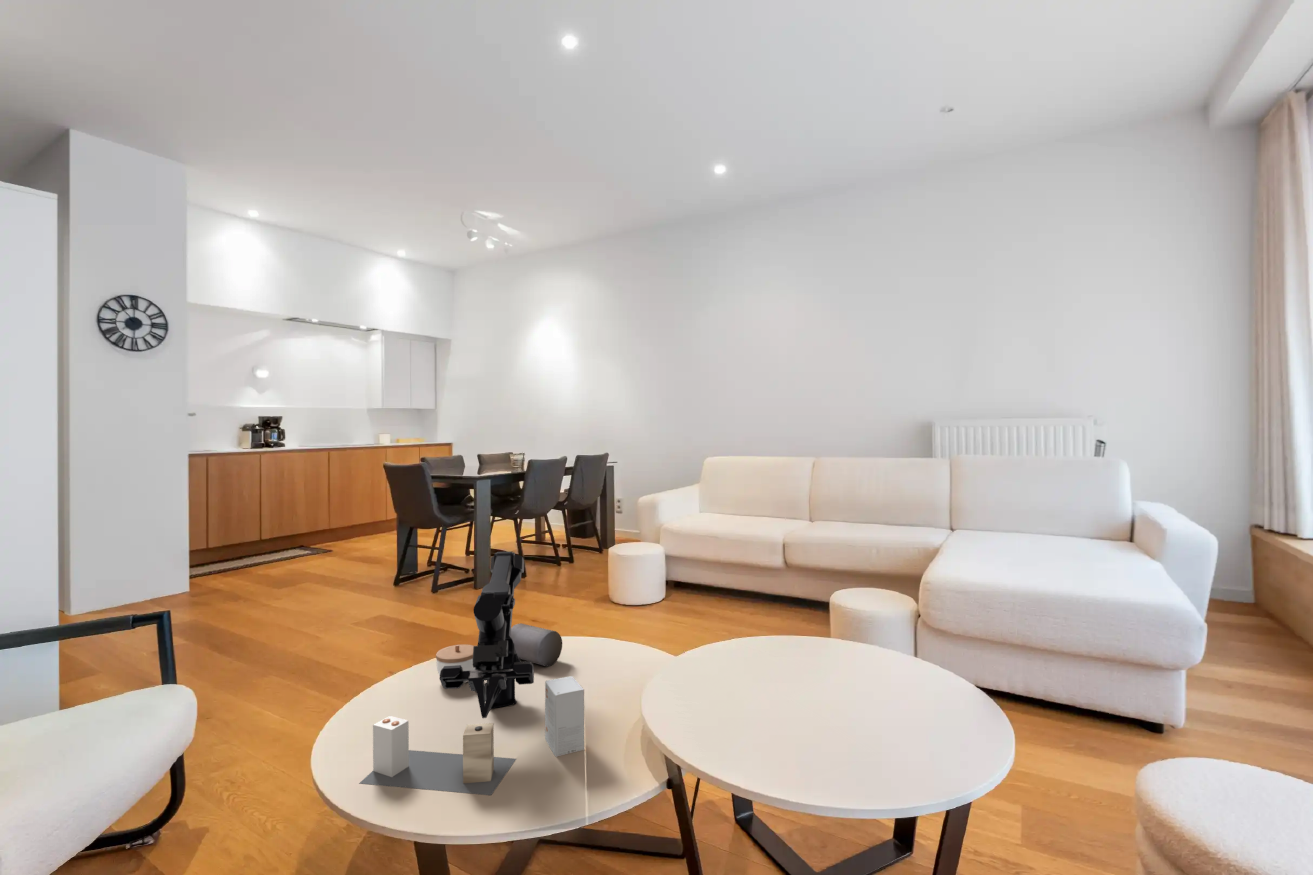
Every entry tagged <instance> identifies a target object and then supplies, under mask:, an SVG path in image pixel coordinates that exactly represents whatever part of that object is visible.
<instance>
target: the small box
mask: <svg viewBox="0 0 1313 875" xmlns="http://www.w3.org/2000/svg"><path fill="white" fill-rule="evenodd" d="M544 682H545V683H544V692H545V693H544V695H545V696H544V697H545V698H544V699H545V700H544V701H545V702H544V708H545V709H544V713H545V715H544V716H545V718H544V720H545V721H544V722H545V723H544V725H545V726H544V727H545V729H544V733H545V734H544V736H545V737H544V739H545V742H546V743H547V745H548V747H549V748H550V750H551V752H552V754H553V755H554V757H560V756H564V755H568V754H572V753H576V752H579V751H585V689H584V688H583V687H582V685H581V684H580V683H579V681H577V680H576V679H575V677H574V676H573V675H571V676H564V677H559V678H553V679H547V680H545V681H544Z"/></svg>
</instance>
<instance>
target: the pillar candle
mask: <svg viewBox="0 0 1313 875" xmlns="http://www.w3.org/2000/svg"><path fill="white" fill-rule="evenodd" d="M510 638H512V640H513V643H514V645H515V651H516V653H517V654H518V658H519V659H520V660H523V661H524V662H527V661H530V662H531V663H532V664H537V665H539V666H544V667H551V666H552V665H554V664H555V663H556V662H557V661H558V659H560V656H561V653H562V650H563V638H562V636H561V634H560V633H559V632H557V631H556V630H552V629H548V628H544V627H543V628H542V627H538V626H533V625H530V624H526V623H516V624H514V625H512V626H511V637H510Z"/></svg>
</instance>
